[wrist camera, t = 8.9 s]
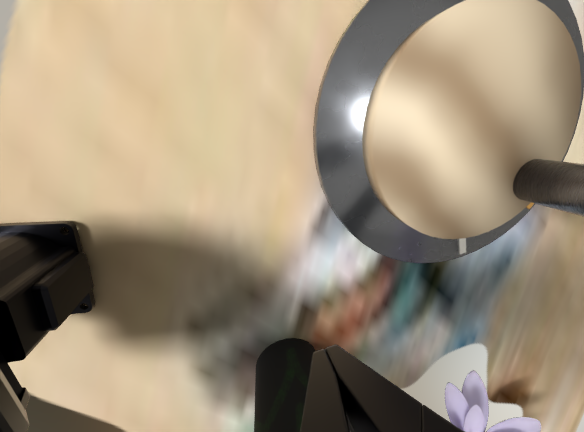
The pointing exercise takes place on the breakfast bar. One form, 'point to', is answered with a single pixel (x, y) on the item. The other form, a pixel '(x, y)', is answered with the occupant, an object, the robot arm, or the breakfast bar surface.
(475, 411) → the water lily
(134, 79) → the breakfast bar surface
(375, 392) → the robot arm
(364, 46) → the base
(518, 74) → the dial
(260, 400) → the cup
